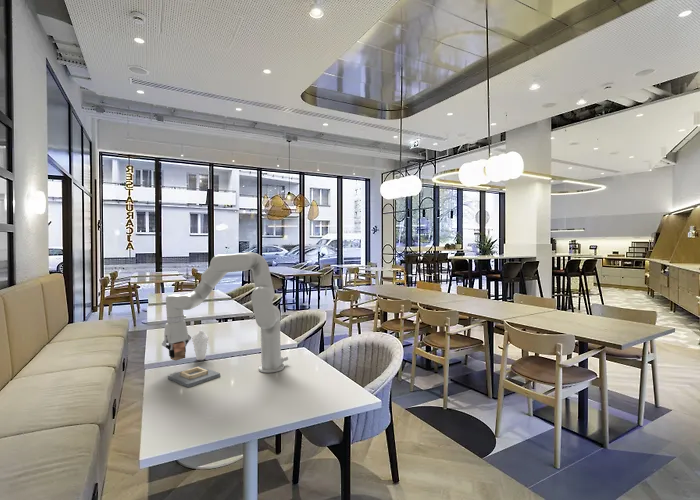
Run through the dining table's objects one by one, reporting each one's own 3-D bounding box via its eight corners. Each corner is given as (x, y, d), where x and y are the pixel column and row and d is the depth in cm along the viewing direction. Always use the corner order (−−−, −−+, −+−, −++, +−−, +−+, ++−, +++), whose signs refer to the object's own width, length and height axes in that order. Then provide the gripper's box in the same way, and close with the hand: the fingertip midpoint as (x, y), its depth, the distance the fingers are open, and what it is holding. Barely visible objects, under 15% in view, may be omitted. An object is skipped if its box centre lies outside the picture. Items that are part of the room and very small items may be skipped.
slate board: (199, 368, 191) (199, 362, 191) (220, 376, 180) (220, 370, 180) (168, 378, 178) (167, 372, 178) (188, 387, 167) (187, 380, 167)
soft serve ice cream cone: (189, 360, 204) (188, 331, 204) (200, 355, 212) (199, 327, 211) (201, 362, 201) (200, 332, 200) (212, 357, 209) (211, 328, 208)
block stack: (180, 356, 192) (179, 340, 192) (185, 357, 189) (184, 341, 189) (170, 359, 188) (169, 343, 188) (175, 360, 185) (174, 344, 185)
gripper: (187, 315, 197) (190, 350, 198) (154, 322, 183) (156, 359, 184) (195, 316, 192) (197, 352, 193) (161, 324, 179) (164, 362, 180)
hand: (177, 355), depth 189 cm, fingers closed on block stack, 5 cm apart
